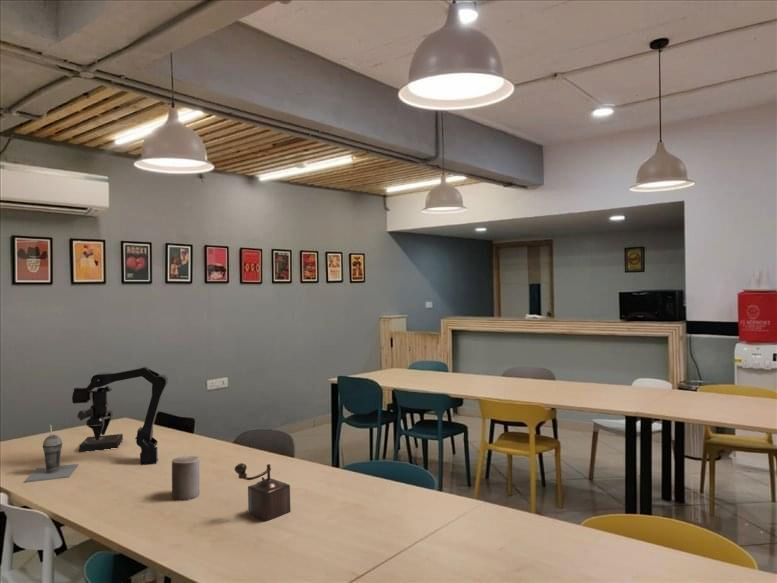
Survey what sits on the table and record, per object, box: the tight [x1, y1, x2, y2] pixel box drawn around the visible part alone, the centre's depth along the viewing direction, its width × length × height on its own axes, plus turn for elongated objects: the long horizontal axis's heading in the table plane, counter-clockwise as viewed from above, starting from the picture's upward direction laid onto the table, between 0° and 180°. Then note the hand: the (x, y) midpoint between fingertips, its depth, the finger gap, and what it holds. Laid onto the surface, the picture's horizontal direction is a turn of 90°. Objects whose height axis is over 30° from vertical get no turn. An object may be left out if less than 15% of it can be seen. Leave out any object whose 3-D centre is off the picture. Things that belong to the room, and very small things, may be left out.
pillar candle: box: [171, 455, 201, 501], centre depth 200 cm, size 10×10×15 cm
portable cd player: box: [78, 433, 124, 453], centre depth 273 cm, size 16×17×4 cm
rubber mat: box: [24, 463, 79, 483], centre depth 231 cm, size 16×18×1 cm
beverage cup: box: [42, 424, 63, 474], centre depth 231 cm, size 7×7×20 cm
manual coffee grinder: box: [234, 463, 291, 522], centre depth 181 cm, size 16×11×18 cm
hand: (100, 437), depth 239 cm, fingers open, 9 cm apart
